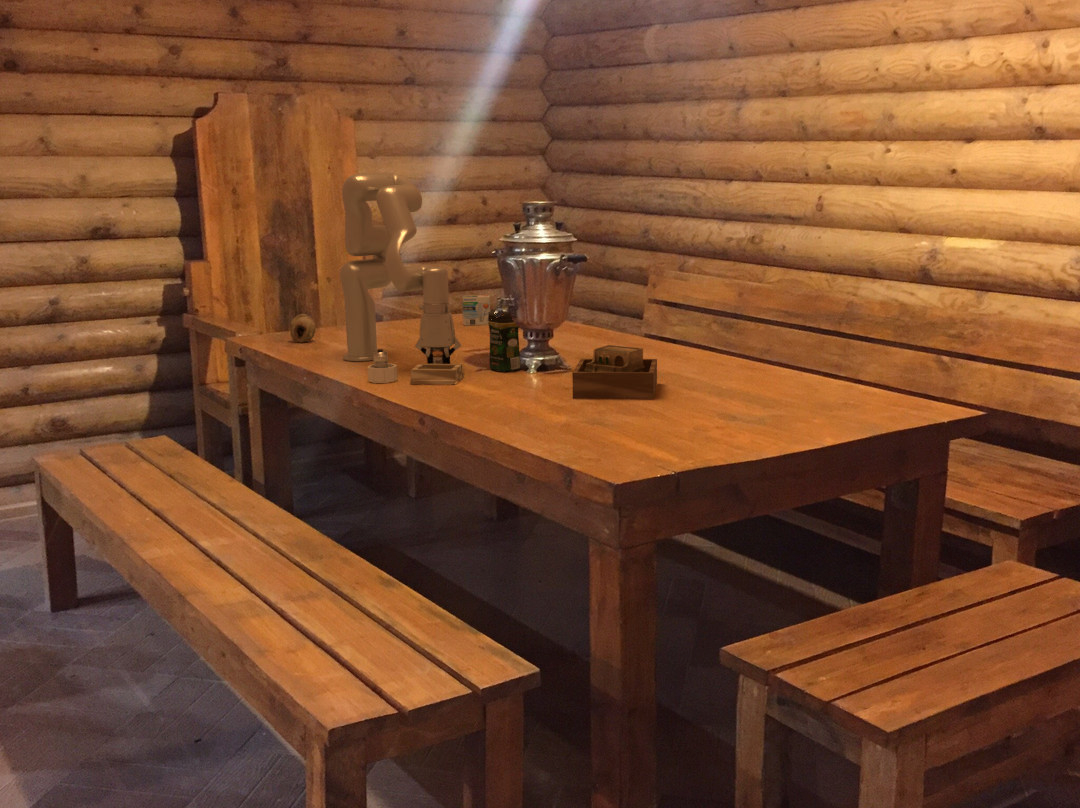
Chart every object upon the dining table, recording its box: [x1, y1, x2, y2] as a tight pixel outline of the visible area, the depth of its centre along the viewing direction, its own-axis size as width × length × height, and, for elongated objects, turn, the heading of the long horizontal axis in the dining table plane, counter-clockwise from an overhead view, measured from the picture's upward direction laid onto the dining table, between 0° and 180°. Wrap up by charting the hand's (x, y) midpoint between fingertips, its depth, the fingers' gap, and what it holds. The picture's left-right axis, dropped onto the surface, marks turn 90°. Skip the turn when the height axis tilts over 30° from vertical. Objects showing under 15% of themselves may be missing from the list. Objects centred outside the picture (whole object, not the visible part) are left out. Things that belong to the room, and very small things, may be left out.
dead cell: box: [373, 348, 389, 368], centre depth 336 cm, size 4×4×9 cm
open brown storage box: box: [572, 358, 658, 400], centre depth 315 cm, size 20×21×7 cm
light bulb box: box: [462, 294, 491, 326], centre depth 440 cm, size 11×7×11 cm, turn 95°
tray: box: [409, 363, 464, 386], centre depth 335 cm, size 12×13×4 cm
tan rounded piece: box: [289, 313, 317, 344], centre depth 407 cm, size 10×8×10 cm
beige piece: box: [367, 363, 398, 384], centre depth 336 cm, size 8×8×4 cm
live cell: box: [431, 348, 445, 364], centre depth 345 cm, size 4×4×9 cm
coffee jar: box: [488, 308, 521, 373], centre depth 347 cm, size 10×8×19 cm
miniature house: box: [584, 344, 646, 372], centre depth 316 cm, size 15×14×11 cm
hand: (439, 368), depth 346 cm, fingers closed on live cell, 4 cm apart
